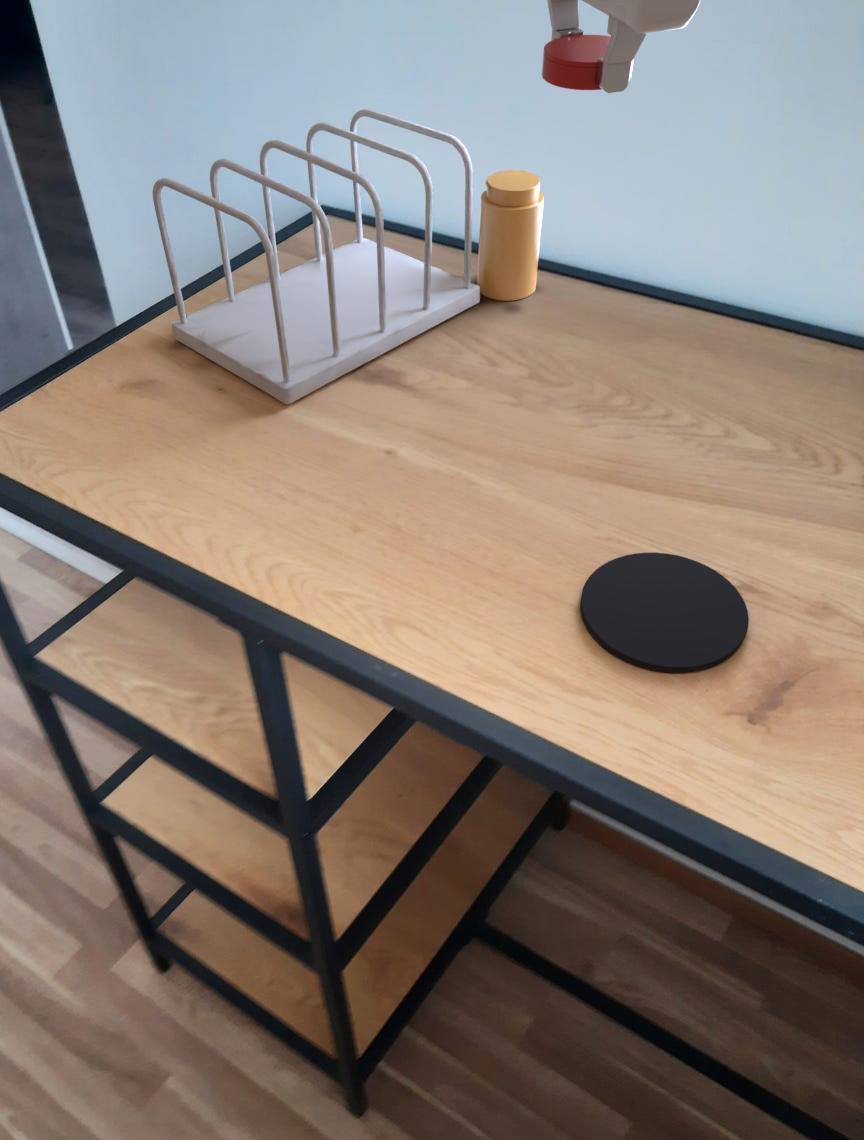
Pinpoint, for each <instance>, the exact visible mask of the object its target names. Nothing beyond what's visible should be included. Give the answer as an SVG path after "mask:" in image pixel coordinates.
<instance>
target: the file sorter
mask: <svg viewBox="0 0 864 1140" xmlns="http://www.w3.org/2000/svg"><path fill="white" fill-rule="evenodd" d="M365 117H366V118H370V119H373V120H377V121H379V122H383V123H386V124H389V125H393V126H395V127H399V128H401V129H405V130H407V131H410V132H414V133H417V134H421V135H424V136H426V137H429V138H432V139H436V140H437V141H438V140H439V141H441V142H444V143H447V144H449V145H452V146H453V148H454V149H455V150H456V151H457V152H458V153H459V155H460V156H461V159H462V162H463V166H464V174H465V175H464V177H465V178H464V179H465V181H464V184H465V187H464V189H465V190H464V250H463V252H464V253H463V254H464V255H463V256H464V257H463V274H464V275H463V276H464V278H461V277H459V276H457V275H454V274H453V273H451V272H447V271H445V270H443V269H440V268H439V267H438V268H437V267H436V266H433V265H432V253H433V252H432V251H433V228H434V227H433V223H434V221H433V220H434V188H433V181H432V178H431V175H430V172H429V170H428V168H427V166H426V165H425V163H424V162H423V161H422V159H420V158H419V157H417V155H416V154H413V153H411V152H409V151H406V150H403V149H401V148H398V147H395V146H392V145H390V144H387V143H384V142H381V141H379V140H376V139H374V138H370V137H367V136H365V135H362V134H359V133H357V131H358V130H357V128H358V123H359V121H360V120H361V118H365ZM319 131H322V132H323V131H324V132H326V133H330V134H332V135H334V136H338V137H341V138H343V139H346V140H349V143H350V158H351V169H349V168H347V167H345V166H342V165H340V164H338V163H335V162H332V161H330V160H328V159H325V158H323V157H320V156H318V155H316V154H314V153H315V152H314V141H315V137H316V134H317V133H319ZM305 144H306V147H305V148H306V149H305V150H303V149H301V148H300V147H299V148H298V147H296V146H294V145H291V144H289V143H286V142H284V141H282V140H278V139H271V140H268V141H266V142H265V143H264V144H263V145H262V147H261V149H260V153H259V169H260V173H259V172H257V171H255V170H253V169H251V168H248V167H246V166H244V165H241V164H240V163H237V162H235V161H233V160H230V159H228V158H219V159H217V160H215V161H214V162H213V164H211V167H210V171H209V184H210V185H209V186H210V192H211V196H210V195H209V194H206V193H203V192H201V191H199V190H197V189H195V188H192V187H190V186H188V185H186V184H184V183H181V182H179V181H176V180H174V179H172V178H169V177H162V178H160V179H157V180H156V181H155V182H154V183H153V187H152V200H153V201H152V202H153V206H154V211H155V216H156V220H157V225H158V230H159V234H160V237H161V242H162V246H163V251H164V255H165V259H166V265H167V269H168V273H169V277H170V282H171V285H172V290H173V294H174V298H175V303H176V304H175V305H176V308H177V312H178V317H179V319H176V320H174V321H172V322H171V328H172V333H173V338H174V340H176V341H178V342H179V343H181V344H183V345H185V346H186V347H188V348H190V349H192V350H193V351H195V352H197V353H199V354H200V355H202V356H203V357H205V358H207V359H209V360H210V361H212V362H213V363H215V364H217V365H219V366H220V367H222V368H224V369H225V370H228V371H229V372H231V373H233V374H234V375H236V376H237V377H240V378H241V379H243V380H245V381H246V382H248V383H249V384H252V385H253V386H255V387H256V388H258V389H260V390H261V391H263V392H264V393H267V394H268V395H270V396H272V398H274V399H276V400H278V401H280V402H282V403H283V404H285V405H290V404H293V403H294V402H296V401H298V400H300V399H301V398H303V397H305V396H307V395H309V394H311V393H313V392H315V391H317V390H318V389H320V388H322V387H323V386H325V385H327V384H329V383H331V382H333V381H334V380H336V379H338V378H340V377H342V376H344V375H345V374H347V373H350V372H352V371H353V370H355V369H357V368H359V367H361V366H363V365H365V364H367V363H368V362H370V361H372V360H374V359H376V358H378V357H379V356H381V355H383V354H385V353H387V352H389V351H390V350H393V349H394V348H397V347H398V346H400V345H402V344H404V343H405V342H407V341H409V340H412V339H413V338H415V337H417V336H418V335H420V334H422V333H424V332H426V331H428V330H430V329H432V328H433V327H436V326H437V325H440V324H441V323H443V322H445V321H446V320H449V319H450V318H453V317H454V316H456V315H458V314H460V313H462V312H463V311H465V310H467V309H469V308H471V307H473V306H475V305H477V304H479V303H480V301H481V300H480V299H481V293H480V287H479V286H478V285H477V283H473V282H471V280H472V247H473V246H472V241H473V188H474V187H473V184H474V183H473V181H474V179H473V177H474V176H473V164H472V160H471V155H470V154H469V153H470V152H468V149H467V147H466V146H465V145H464V143H463V142H462V141H461V140H460V139H459V138H457V137H456V136H455V135H452V134H450V133H447V132H444V131H440V130H437V129H435V128H431V127H428V126H425V125H421V124H419V123H416V122H412V121H409V120H407V119H403V118H400V117H396V116H393V115H390V114H386V113H383V112H380V111H377V110H373V109H370V108H363V109H360V110H358V111H355V113H354V115H353V116H352V118H351V121H350V125H349V130H348V129H345V128H343V127H340V126H338V125H334V124H330V123H329V122H324V121H322V122H318V123H315V124H314V125H312V126H311V127H310V129H309V130H308V132H307V135H306V143H305ZM358 144H360V145H363V146H366V147H368V148H370V149H374V150H376V151H379V152H382V153H384V154H387V155H389V156H392V157H395V158H398V159H401V160H404V161H406V162H408V163H410V164H411V165H412V166H413V167H415V168H416V170H417V171H418V173H419V174H420V176H421V178H422V182H423V185H424V193H425V210H424V213H425V216H424V217H425V219H424V220H425V221H424V222H425V223H424V259H423V261H421V260H419V259H417V258H414V257H411V256H410V255H407V254H405V253H403V252H400V251H397V250H395V249H392V248H390V247H388V246H385V229H384V228H385V226H384V224H385V223H384V212H383V211H384V210H383V206H382V202H381V199H380V196H379V194H378V192H377V190H376V188H375V186H374V185H373V183H371V181H370V180H368V179H367V178H366V177H365V176H364V175H362V174H360V172H359V171H360V169H359V168H360V167H359V156H358V154H359V153H358ZM271 149H276V150H279V151H282V152H284V153H286V154H289V155H292V156H293V157H296V158H299V159H301V160H303V161H306V163H307V171H308V172H307V174H308V183H309V195H310V196H309V195H308V194H306V193H303V192H302V191H299V190H297V189H295V188H292V187H290V186H288V185H286V184H284V183H282V182H280V181H277V180H275V179H273V178H271V177H269V170H268V155H269V152H270V150H271ZM316 166H317V167H320V168H323V169H324V170H327V171H329V172H332V173H334V174H336V175H338V176H341V177H343V178H346V179H348V180H350V181H352V188H353V189H352V190H353V204H354V217H355V231H356V238H355V239H353V240H351V241H349V242H347V243H344V244H341V245H340V246H338V247H336V248H334V245H333V237H332V231H331V226H330V223H329V220H328V218H327V215H326V214H325V212H324V210H323V209H322V207H321V205H320V204H319V202H318V201H319V200H318V189H317V178H316ZM221 168H225V169H227V170H230V171H232V172H235V173H237V174H238V175H241V176H243V177H245V178H248V179H249V180H251V181H254V182H255V183H259V185H261V186H262V195H263V203H264V211H265V220H266V227H267V232H266V230H265V228H264V227H263V226H262V224H261V223H260V222H259V221H258V220H257V219H256V218H255V217H254V216H252V215H251V214H249V213H247V212H245V211H243V210H242V209H239V208H237V207H234V206H232V205H231V204H228V203H225V202H223V201H221V197H220V196H221V195H220V191H219V181H218V177H219V170H220V169H221ZM360 186H361V187H362V188H363V189H364V190H365V191H366V193H367V194H368V195H369V198H370V199H371V202H372V205H373V210H374V217H375V238H376V242H375V241H373V240H371V239H369V238H366V237H364V233H363V218H362V216H363V215H362V204H361V203H362V202H361V190H360V189H361V187H360ZM164 187H166V188H168V189H170V190H173V191H176V192H177V193H180V194H183V195H185V196H187V197H189V198H192V199H194V200H196V201H198V202H200V203H202V204H205V205H206V206H209V207H211V208H213V210H214V217H215V223H216V228H217V236H218V242H219V248H220V255H221V261H222V267H223V272H224V280H225V285H226V291H227V297H226V298H223V299H221V300H219V301H217V302H214V303H212V304H209V305H207V306H205V307H203V308H201V309H199V310H196V311H194V312H191V313H190V314H187V315H186V309H185V302H184V297H183V293H182V289H181V284H180V280H179V276H178V272H177V271H178V270H177V266H176V262H175V257H174V253H173V250H172V245H171V240H170V235H169V231H168V227H167V223H166V217H165V213H164V207H163V201H162V190H163V188H164ZM271 189H272V190H274V191H276V192H279V193H280V194H282V195H284V196H287V197H289V198H292V199H294V200H295V201H298V202H300V203H302V204H305V205H306V206H307V207H309V208H310V209H311V215H312V216H311V218H312V226H313V227H312V228H313V236H314V246H315V247H314V248H315V257H314V258H312V259H309V260H307V261H305V262H302V263H300V264H298V265H296V266H294V267H292V268H289V269H287V270H285V271H283V272H281V273H280V266H279V265H280V264H279V257H278V250H277V249H278V248H277V242H276V241H277V240H276V231H275V223H274V216H273V214H274V213H273V207H272V199H271ZM223 213H224V214H226V215H228V216H231V217H233V218H235V219H236V220H237V219H238V220H239V221H241V222H243V223H245V224H247V225H248V226H249V227H251V228H252V229H253V231H254V232H255V233H256V235H257V236H258V238H259V240H260V241H261V244H262V247H263V250H264V253H265V259H266V265H267V271H268V272H267V273H268V279H265V280H263V281H261V282H258V283H256V284H254V285H252V286H249V287H248V288H245V289H243V290H241V291H238V292H237V293H236V292H235V288H234V282H233V276H232V268H231V263H230V262H231V261H230V257H229V249H228V244H227V237H226V231H225V224H224V216H223ZM321 231H322V233H321ZM322 235H323V242H324V253H323V247H322Z"/></svg>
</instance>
